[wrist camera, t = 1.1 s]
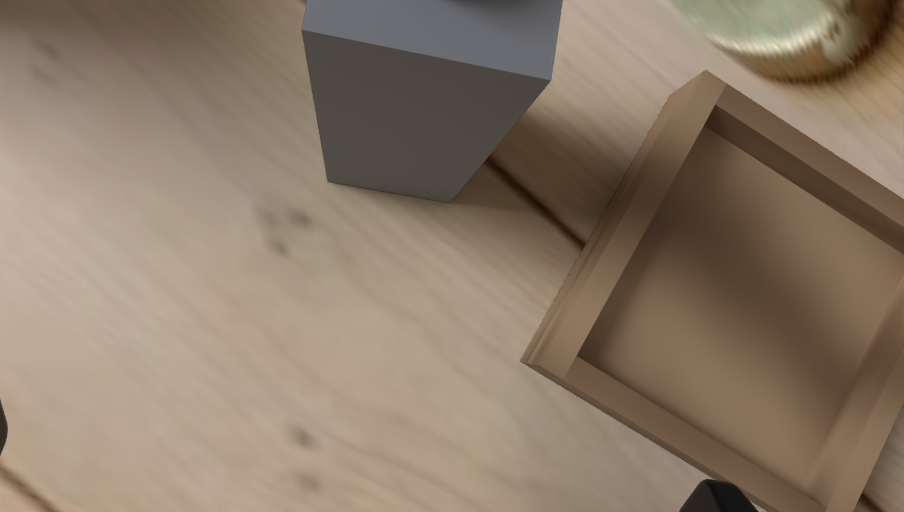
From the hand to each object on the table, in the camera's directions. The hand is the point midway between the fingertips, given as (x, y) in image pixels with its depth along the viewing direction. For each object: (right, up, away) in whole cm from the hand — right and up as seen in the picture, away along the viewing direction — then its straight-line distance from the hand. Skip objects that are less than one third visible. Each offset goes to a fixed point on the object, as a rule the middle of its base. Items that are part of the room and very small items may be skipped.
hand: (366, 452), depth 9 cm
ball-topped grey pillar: (-1, +7, +14) cm, 16 cm away
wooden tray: (+10, +1, +15) cm, 18 cm away
